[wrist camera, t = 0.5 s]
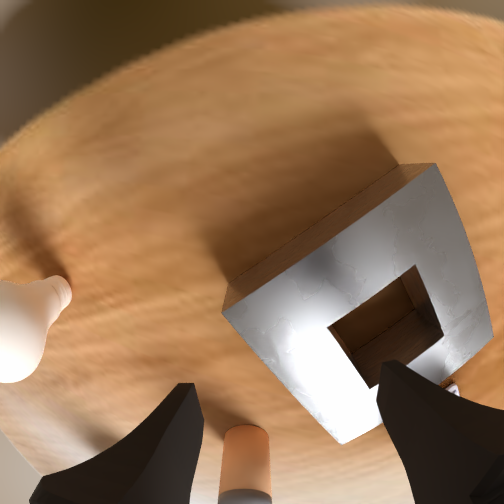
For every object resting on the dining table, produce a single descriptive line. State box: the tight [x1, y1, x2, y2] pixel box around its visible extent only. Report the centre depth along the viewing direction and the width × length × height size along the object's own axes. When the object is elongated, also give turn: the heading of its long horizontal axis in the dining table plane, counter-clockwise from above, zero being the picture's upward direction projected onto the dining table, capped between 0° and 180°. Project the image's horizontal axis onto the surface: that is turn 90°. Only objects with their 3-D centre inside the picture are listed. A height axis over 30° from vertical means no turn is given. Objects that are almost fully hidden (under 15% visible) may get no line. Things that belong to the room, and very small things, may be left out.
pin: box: [218, 425, 272, 504], centre depth 19 cm, size 4×4×8 cm
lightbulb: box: [0, 275, 72, 383], centre depth 15 cm, size 6×6×11 cm
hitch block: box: [222, 163, 494, 445], centre depth 18 cm, size 14×14×4 cm
